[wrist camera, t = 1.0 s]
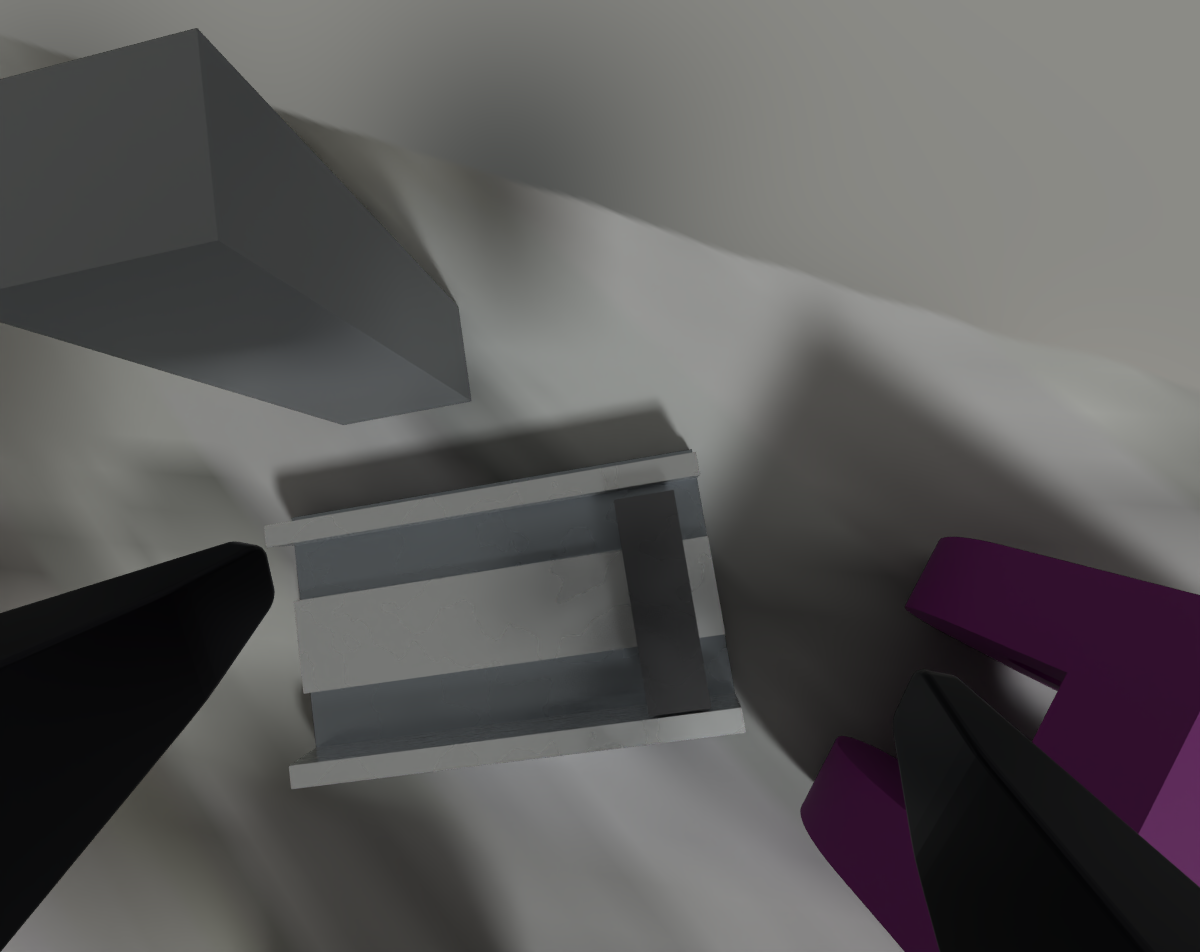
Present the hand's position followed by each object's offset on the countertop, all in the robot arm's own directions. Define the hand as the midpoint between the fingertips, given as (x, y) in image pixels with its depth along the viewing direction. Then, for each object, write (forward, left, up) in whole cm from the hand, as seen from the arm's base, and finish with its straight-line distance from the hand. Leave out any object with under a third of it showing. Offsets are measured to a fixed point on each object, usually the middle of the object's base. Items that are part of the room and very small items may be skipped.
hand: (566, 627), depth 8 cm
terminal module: (-2, +12, -14) cm, 18 cm away
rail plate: (-5, +1, -14) cm, 15 cm away
